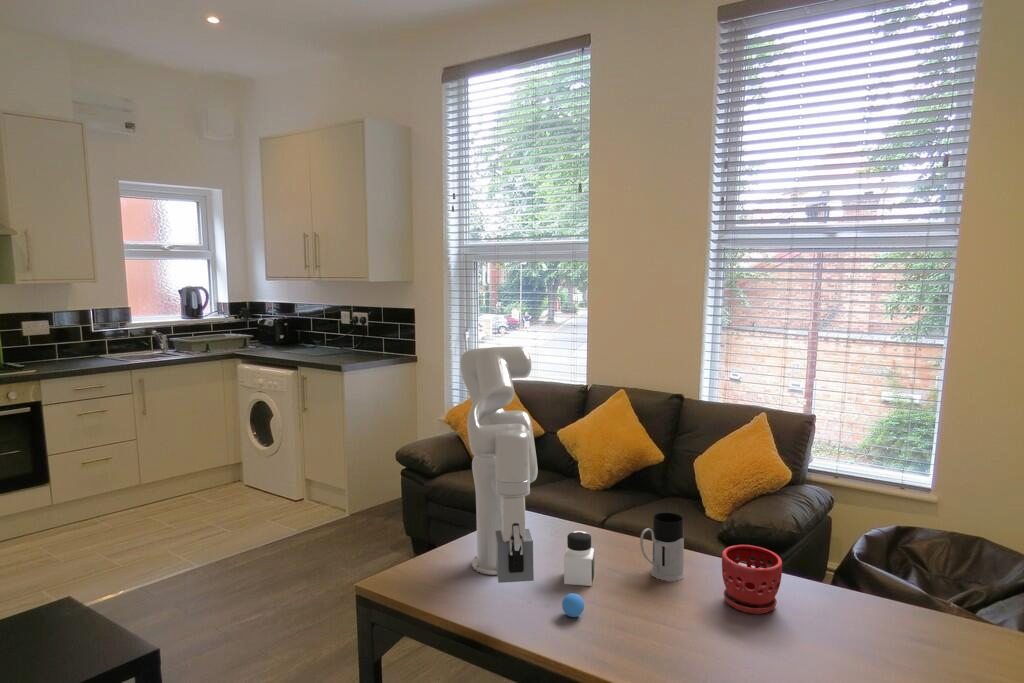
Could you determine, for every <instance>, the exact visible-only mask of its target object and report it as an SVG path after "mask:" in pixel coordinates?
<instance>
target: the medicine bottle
mask: <svg viewBox="0 0 1024 683" xmlns="http://www.w3.org/2000/svg"><path fill="white" fill-rule="evenodd" d="M566 537H567V542H566V543H567V547H566V549H565V552H564V557H563V583H564V585H570V586H571V585H572V586H587V587H592V586H593V584H594V578H595V548H593V547H592V535H591V534H590V533H588V532H587V531H584V530H583V531H581V530H575V531H572V532H570V533H568V534H567V536H566Z"/></svg>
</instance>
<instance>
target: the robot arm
mask: <svg viewBox="0 0 1024 683" xmlns="http://www.w3.org/2000/svg"><path fill="white" fill-rule="evenodd" d="M460 371H461V376H462V379H463V380H462V381H463V383H464V385H465V387H466V390H467V392H468V394H469V397H470V401H471V406H470V408H469V410H468V413H467V419H466V427H467V436H468V444H469V449H470V452H471V454H472V455H473V458H472V461H471V469H472V475H473V483H474V489H475V507H476V509H475V510H476V512H475V513H476V556H475V557H474V558H472V560H471V567H473V568H472V569H473V570H476V572H477V573H479V572H480V574H483V575H490V576H495V575H496V576H497V571H496V538H495V531H497V530H500V531H501V536H502V540H503V542H505V543H506V541H509V549H510V554H508V557H509V572H510V573H516V572H523V571H524V560H523V550H522V542H523V541H524V540H525V529H526V497H527V496H529V495H530V494H531V487H530V486H531V483H533V482H535V481H536V479H537V478H538V472H539V471H538V470H539V469H538V458H537V453H536V452H537V451H536V445H535V444H536V443H535V438H534V437H535V436H534V429H533V424H532V420H531V418H530V415H529V414H528V413H527V412H526V411H523V410H517V409H516V410H505V409H504V408H505V407H506V406H509V405H510V404H511V402H513V400H514V398H515V393H516V392H515V388H514V383H513V379H526V378H528V377H529V376H530V374H531V372H532V360H531V356H530V353H529V352H528V350H527V349H526V347H523V346H494V347H480V348H473V349H468V350H466V351H465V352H464V353H463V354H462V355H461V357H460ZM511 538H514V540H511ZM512 543H514V545H513V546H512Z"/></svg>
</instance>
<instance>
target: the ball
mask: <svg viewBox="0 0 1024 683" xmlns="http://www.w3.org/2000/svg"><path fill="white" fill-rule="evenodd" d="M561 607H562V610H563V612H564V614H566V615H567V616H568V617H571V618H576V617H579V616H581V615H582V614H583V612H584V610H585V602H584V600H583V598H582V596H580V595H579V594H577V593H573V592H572V593H571V592H570V593H568V594H566V595H565V596H564V597H563V600H562V603H561Z"/></svg>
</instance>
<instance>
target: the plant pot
mask: <svg viewBox="0 0 1024 683" xmlns="http://www.w3.org/2000/svg"><path fill="white" fill-rule="evenodd" d="M721 554H722V555H721V573H722V579H723V583H724V587H725V589H724V590H723V597H724V598H723V599H724V600H725V601H726V602H727V604H728V605H730V606H731V607H732V608H734V609H736V610H739V611H740V612H745V613H748V614H756V615H757V614H766V613H769V612H771V611H772V610H774V609H775V608H776V606H777V603H778V602H777V598H776V596H777V593H778V592H779V590H780V586H781V582H782V581H781V580H782V574H783V560H782V558H781V557H780V556H779V555H778V554H777V553H776V552H773V551H772V550H769V549H767V548H764V547H761V546H758V545H757V546H756V545H750V544H737V545H736V544H735V545H731V546H728V547H726V548H724V550H723V551H722V553H721ZM737 556H738V557H737ZM751 557H754V558H755V559H754V560H751ZM761 559H762V560H763V561H761ZM768 561H770V563H771V565H772V566H770V567H769V566H768ZM740 562H745V563H746V565H742V564H740ZM752 565H754V567H752ZM760 567H762V568H760Z"/></svg>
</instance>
